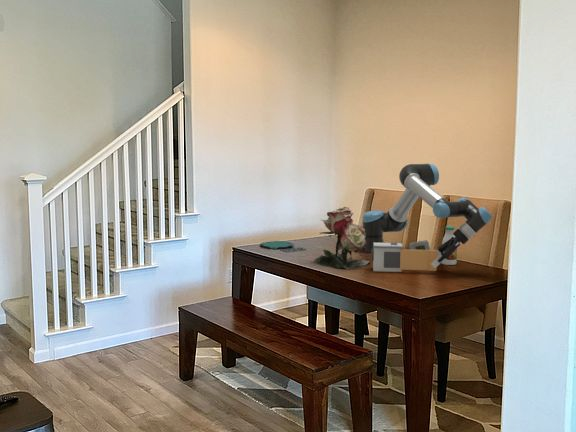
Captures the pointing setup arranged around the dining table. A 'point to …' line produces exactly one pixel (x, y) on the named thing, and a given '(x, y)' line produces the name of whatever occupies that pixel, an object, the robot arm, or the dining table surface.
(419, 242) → the digital clock
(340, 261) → the rose bouquet
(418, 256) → the tan long-handled part
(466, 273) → the dining table surface
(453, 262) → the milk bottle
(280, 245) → the cutlery set
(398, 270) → the box
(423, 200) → the robot arm
